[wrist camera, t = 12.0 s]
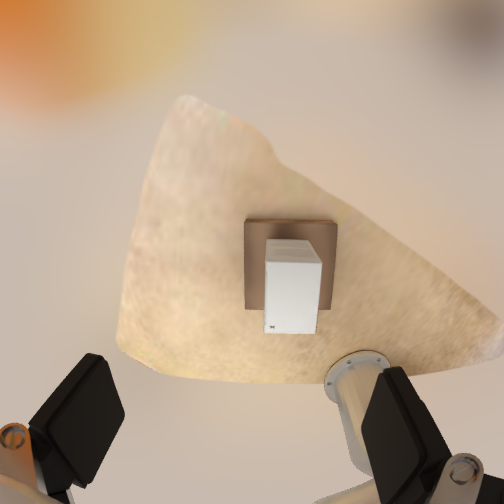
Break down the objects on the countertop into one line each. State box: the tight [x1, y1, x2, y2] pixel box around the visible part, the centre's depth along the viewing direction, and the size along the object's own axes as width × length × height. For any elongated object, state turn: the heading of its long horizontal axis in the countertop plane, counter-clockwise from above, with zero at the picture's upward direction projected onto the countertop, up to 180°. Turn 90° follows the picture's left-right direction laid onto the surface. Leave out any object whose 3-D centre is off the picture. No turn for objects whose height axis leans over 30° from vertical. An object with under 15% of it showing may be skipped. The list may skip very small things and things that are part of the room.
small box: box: [263, 239, 323, 334], centre depth 33 cm, size 8×6×10 cm
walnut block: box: [244, 219, 338, 310], centre depth 40 cm, size 12×12×4 cm
